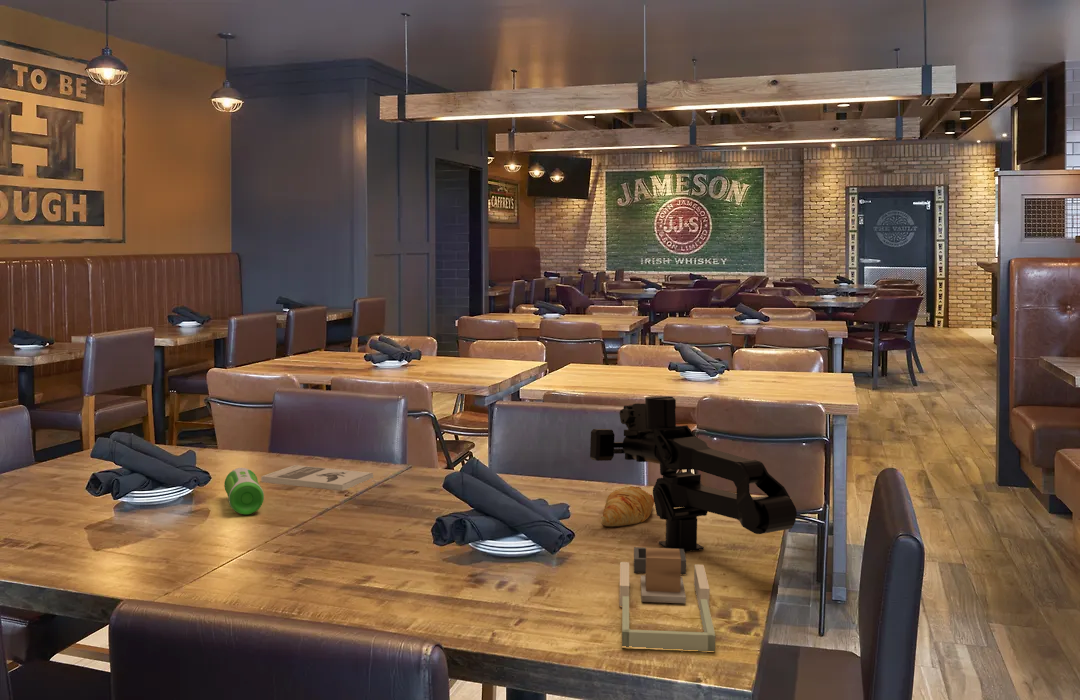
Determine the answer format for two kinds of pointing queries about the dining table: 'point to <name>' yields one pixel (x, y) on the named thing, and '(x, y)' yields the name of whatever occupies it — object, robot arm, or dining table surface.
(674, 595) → the brown block on plate
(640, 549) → the tray
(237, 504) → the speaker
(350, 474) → the book
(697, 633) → the bay
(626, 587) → the channel
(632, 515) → the croissant
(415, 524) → the dining table surface
